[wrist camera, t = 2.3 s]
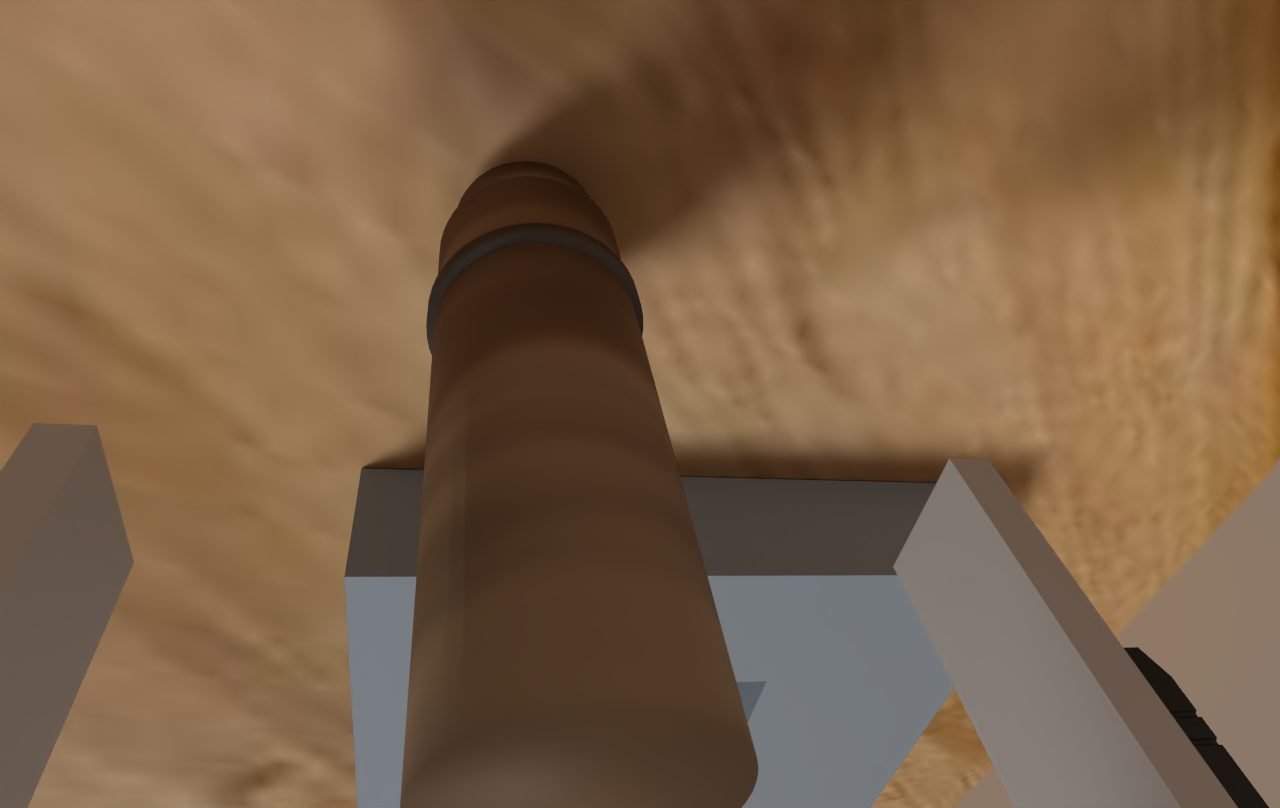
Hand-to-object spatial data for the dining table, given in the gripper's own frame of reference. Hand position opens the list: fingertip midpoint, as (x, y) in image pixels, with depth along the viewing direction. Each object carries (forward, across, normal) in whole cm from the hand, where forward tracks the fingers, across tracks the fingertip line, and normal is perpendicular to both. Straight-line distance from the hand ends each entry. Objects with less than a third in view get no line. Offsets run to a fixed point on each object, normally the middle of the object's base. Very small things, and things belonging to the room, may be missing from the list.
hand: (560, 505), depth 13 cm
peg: (+9, 0, 0) cm, 9 cm away
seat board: (+9, +6, -16) cm, 19 cm away
